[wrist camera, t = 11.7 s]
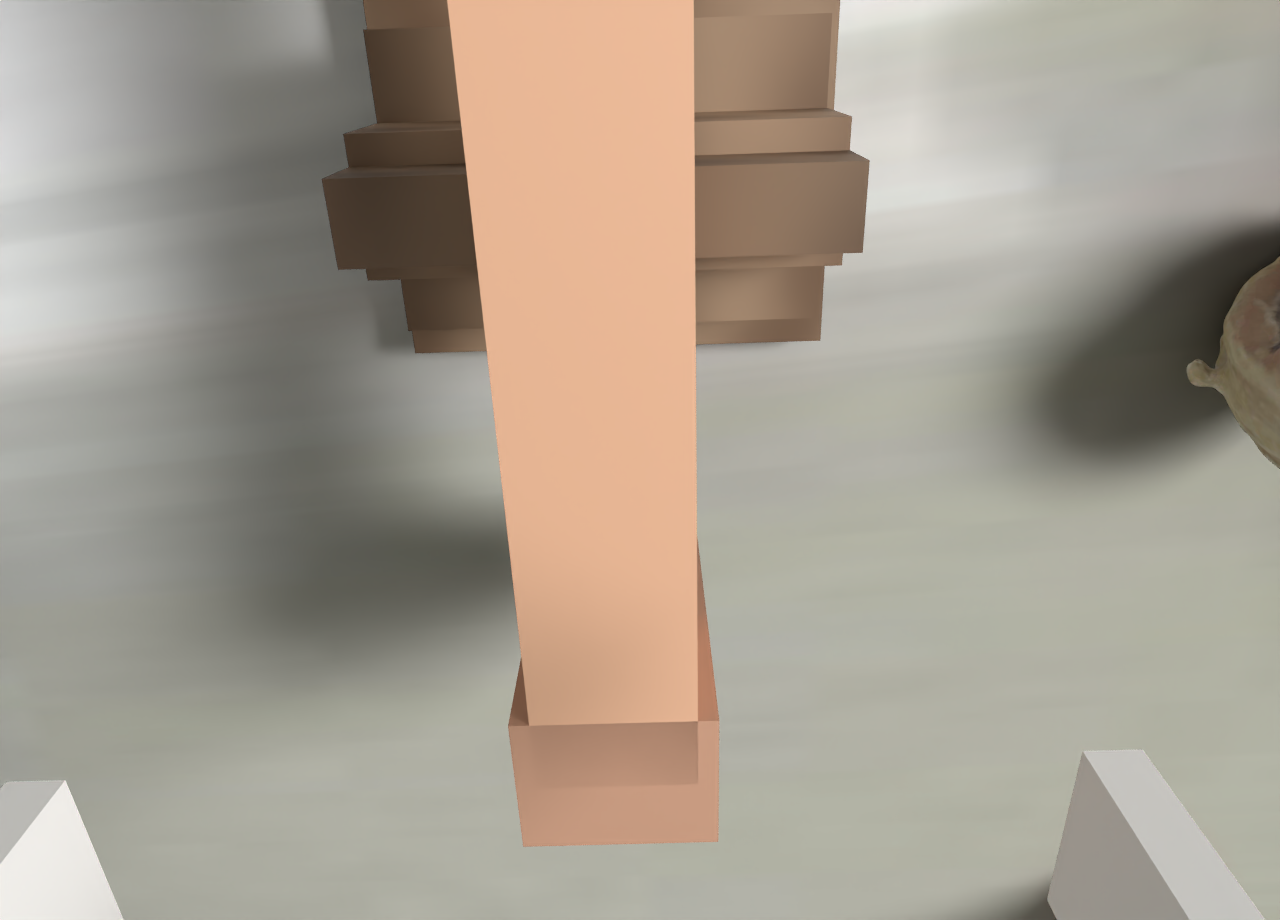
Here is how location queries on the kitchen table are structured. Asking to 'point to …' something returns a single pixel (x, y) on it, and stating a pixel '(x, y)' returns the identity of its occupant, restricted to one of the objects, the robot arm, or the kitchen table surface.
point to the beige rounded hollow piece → (1250, 361)
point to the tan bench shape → (595, 405)
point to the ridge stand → (724, 173)
